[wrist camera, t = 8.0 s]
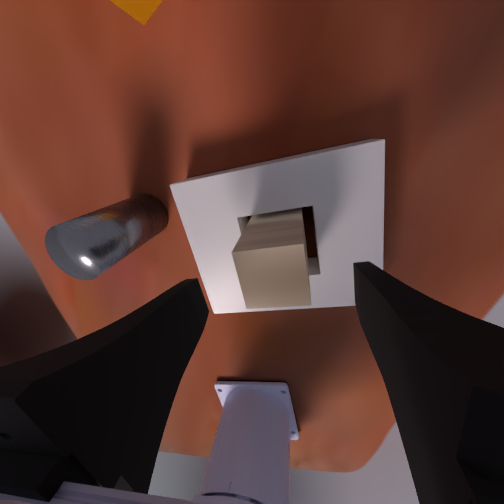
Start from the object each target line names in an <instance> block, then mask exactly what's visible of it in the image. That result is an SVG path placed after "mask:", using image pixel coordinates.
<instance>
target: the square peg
mask: <svg viewBox="0 0 504 504" xmlns="http://www.w3.org/2000/svg"><path fill="white" fill-rule="evenodd" d="M231 253H232V257H233V260H234V264H235V268H236V272H237V275H238V279H239V283H240V287H241V290H242V294H243V298H244V301H245V305H246V309H255V308H273V307H290V306H308V305H311V293H310V281H309V269H308V257H307V245H306V237H305V229H304V220H303V212H302V207H301V208H294V209H288V210H282V211H276V212H270V213H263V214H257V215H252V217H251V219H250V220H249V222H248V224H247V226H246V227H245V229H244V231H243V233H242V234H241V236H240V238H239V240H238V241H237V243H236V245H235V247H234V249H233V250H232V252H231Z"/></svg>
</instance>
